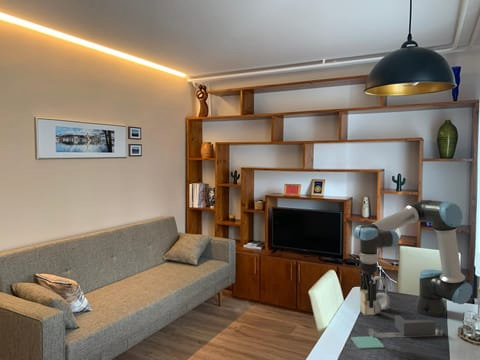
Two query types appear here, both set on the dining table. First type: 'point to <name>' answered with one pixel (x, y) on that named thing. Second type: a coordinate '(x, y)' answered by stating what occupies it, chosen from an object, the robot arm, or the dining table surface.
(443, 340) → the dining table surface
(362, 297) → the beech block
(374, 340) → the pad
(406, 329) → the grey l-shaped block
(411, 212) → the robot arm
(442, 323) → the dining table surface
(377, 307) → the headphones
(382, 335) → the rail
